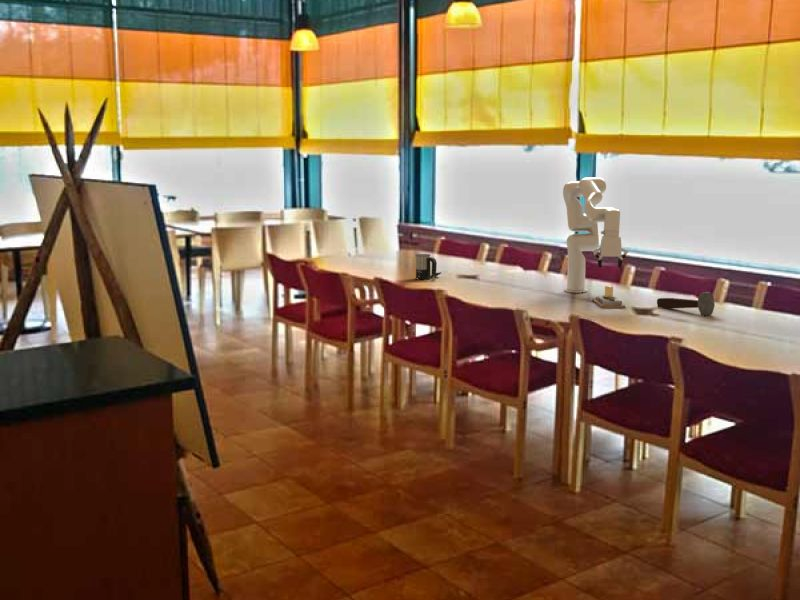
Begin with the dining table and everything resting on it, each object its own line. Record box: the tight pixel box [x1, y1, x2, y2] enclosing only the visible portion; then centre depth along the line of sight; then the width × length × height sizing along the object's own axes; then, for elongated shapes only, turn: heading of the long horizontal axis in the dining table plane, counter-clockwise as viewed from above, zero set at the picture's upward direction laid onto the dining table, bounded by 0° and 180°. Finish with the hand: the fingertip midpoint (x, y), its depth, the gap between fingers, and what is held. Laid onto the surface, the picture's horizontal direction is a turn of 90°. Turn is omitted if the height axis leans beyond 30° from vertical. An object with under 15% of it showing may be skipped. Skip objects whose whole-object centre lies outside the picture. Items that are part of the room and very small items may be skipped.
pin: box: [604, 285, 614, 299], centre depth 434 cm, size 4×4×9 cm
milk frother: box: [415, 253, 442, 280], centre depth 516 cm, size 14×16×15 cm
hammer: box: [656, 291, 716, 317], centre depth 416 cm, size 5×11×30 cm
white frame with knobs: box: [591, 294, 626, 309], centre depth 435 cm, size 20×12×4 cm, turn 0°
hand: (609, 267), depth 433 cm, fingers open, 9 cm apart
